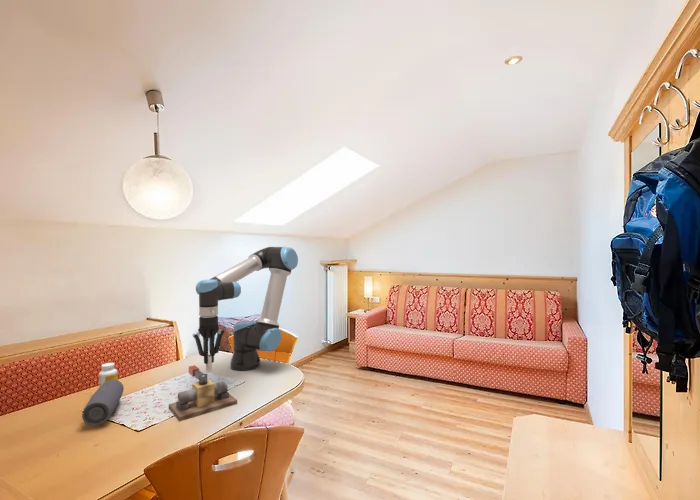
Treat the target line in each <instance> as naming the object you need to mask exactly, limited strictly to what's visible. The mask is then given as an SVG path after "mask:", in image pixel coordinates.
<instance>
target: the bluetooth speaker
mask: <svg viewBox="0 0 700 500" xmlns="http://www.w3.org/2000/svg"><path fill="white" fill-rule="evenodd" d="M124 389H125V388H124V384H123V383H122V381H120V380H118V379H117V380H114V379H113V380H108V381H106V382H105V383H104V384H102V385H101V386H100V387H99V386H98V388H97V390H96V391H95V392H94V393H93V394H92V395H91V398H90V399H89V400H88V402H87V403H86V405H85V406H84V408H83V410H82V414H81V415H82V416H81V417H82V421H83V422H84V423H85V424H87V425H89V426H99V425H103V424H104V422H106V421H107V420H108V419H109V418H110V417H111V415H112V414H113V412H114V411H115V409H116V408H117V406H118V405H119V403H120V400H121V398H122V396H123V392H124Z"/></svg>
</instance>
